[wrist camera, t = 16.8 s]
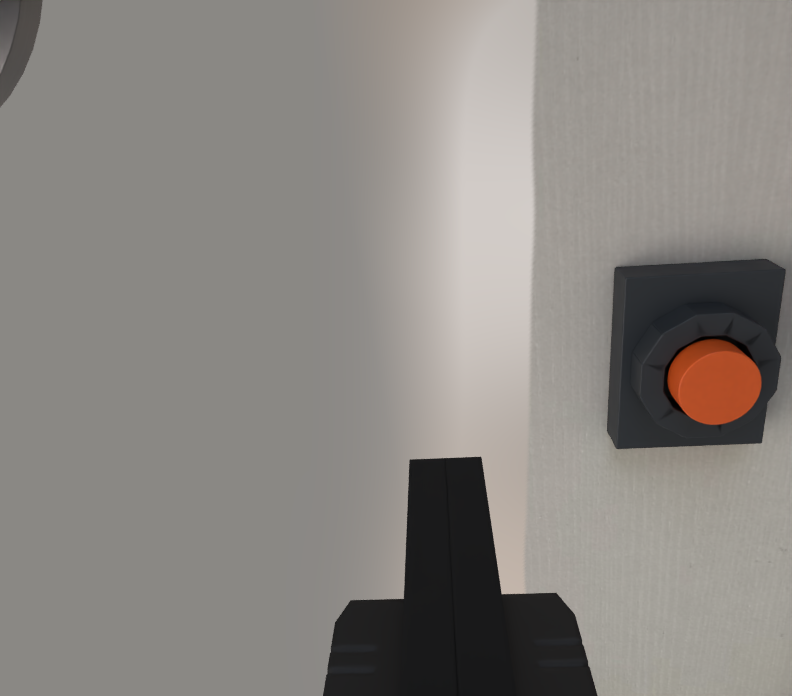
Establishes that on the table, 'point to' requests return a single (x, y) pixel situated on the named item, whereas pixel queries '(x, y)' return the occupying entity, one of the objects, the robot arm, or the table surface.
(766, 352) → the switch block
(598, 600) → the table surface
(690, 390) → the light button
